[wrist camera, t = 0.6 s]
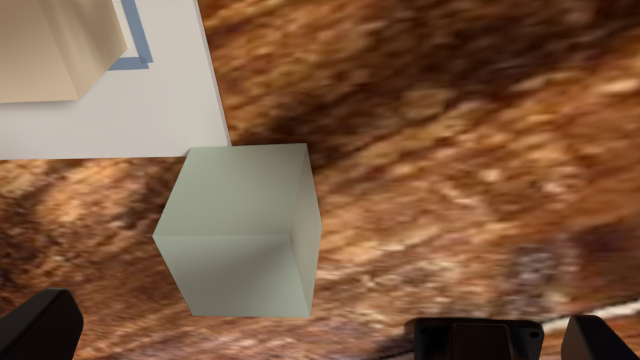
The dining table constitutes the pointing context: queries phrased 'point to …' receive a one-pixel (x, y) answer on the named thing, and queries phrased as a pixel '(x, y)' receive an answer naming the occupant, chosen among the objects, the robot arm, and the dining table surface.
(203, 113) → the white base plate
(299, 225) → the sage cube
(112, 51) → the maple base block
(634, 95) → the dining table surface
